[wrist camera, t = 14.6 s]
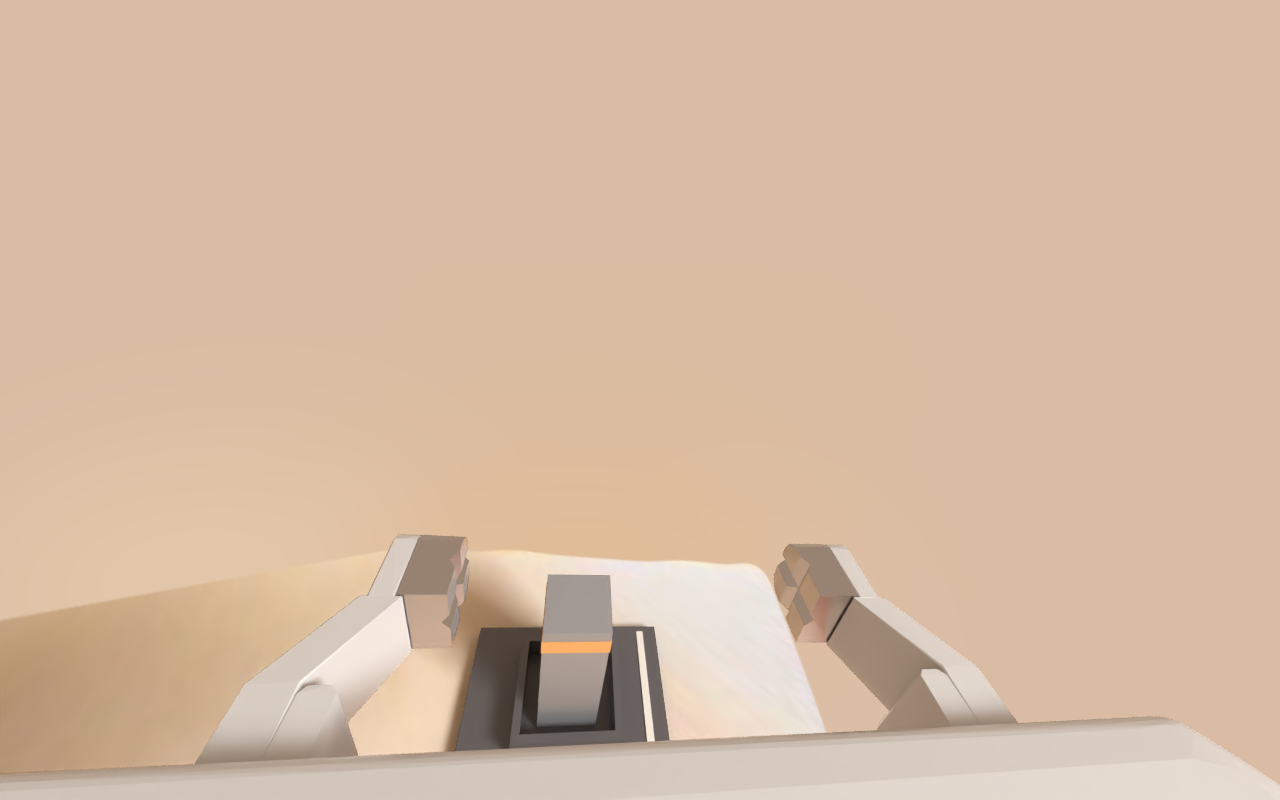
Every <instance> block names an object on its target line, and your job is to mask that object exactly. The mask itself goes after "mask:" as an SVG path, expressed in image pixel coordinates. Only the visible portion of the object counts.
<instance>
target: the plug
mask: <svg viewBox="0 0 1280 800" xmlns="http://www.w3.org/2000/svg"><path fill="white" fill-rule="evenodd" d="M612 635H613V628H612V607H611V587H610V575H548V581H547V587H546V598H545V609H544V620H543V631H542V641H541V669H540V684H539V699H538V715H537V727H558V726H585V725H595V723H596V718H597V713H598V707H599V702H600V697H601V692H602V687H603V681H604V676H605V671H606V666H607V661H608V655H609V653H610V650H611V645H612Z"/></svg>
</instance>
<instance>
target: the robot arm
mask: <svg viewBox="0 0 1280 800" xmlns="http://www.w3.org/2000/svg"><path fill="white" fill-rule="evenodd" d="M467 550H468V542H467V538H466V537H454V536H432V535H405V534H399V535H398V536H397V537H396V538H395V539H394V540H393V542H392V544H391V546H390V548H389V550H388V553H387V555H386V557H385V559H384V561H383V563H382V565H381V567H380V569H379V572H378V574H377V576H376V578H375V580H374V582H373V584H372V586H371V588H370V591H369V593H368V595H367V596H359V597H358V598H356V599H355V600H354V601H352V602H351V603H350V604H348V605H347V606H346V607H345V608H343V609H342V610H341V611H339V612H338V613H337V614H335V615H334V616H333V617H332V618H330V619H329V620H328V621H326V622H325V623H324V624H322V625H321V626H320V627H319V628H317V629H316V630H315V631H313V632H312V633H311V634H309V635H308V636H307V637H306V638H304V639H303V640H302V641H300V642H299V643H298V644H296V645H295V646H294V647H293V648H291V649H290V650H289V651H287V652H286V653H285V654H283V655H282V656H281V657H279V658H278V659H277V660H276V661H274V662H273V663H272V664H270V665H269V666H268V667H266V668H265V669H264V670H263V671H261V672H260V673H259V674H257V675H256V676H255V677H253V678H252V679H251V680H250V681H248V682H247V683H246V684H244V686H243V687H242V689H241V691H240V692H239V694H238V695H237V697H236V699H235V700H234V702H233V703H232V705H231V707H230V708H229V710H228V712H227V713H226V715H225V716H224V718H223V720H222V721H221V723H220V724H219V726H218V728H217V729H216V731H215V732H214V734H213V736H212V737H211V739H210V740H209V742H208V744H207V745H206V747H205V748H204V750H203V752H202V753H201V755H200V756H199V758H198V760H197V761H196V763H195V764H189V765H168V766H148V767H127V768H107V769H86V770H65V771H45V772H24V773H3V774H0V800H1280V785H1279V784H1277V783H1276V782H1274V781H1273V780H1271V779H1270V778H1268V777H1267V776H1265V775H1264V774H1263V773H1261V772H1260V771H1258V770H1257V769H1255V768H1253V767H1252V766H1250V765H1249V764H1247V763H1246V762H1244V761H1243V760H1241V759H1239V758H1238V757H1236V756H1235V755H1233V754H1232V753H1230V752H1228V751H1226V750H1225V749H1224V748H1222V747H1220V746H1219V745H1217V744H1216V743H1214V742H1213V741H1211V740H1209V739H1208V738H1206V737H1205V736H1203V735H1201V734H1199V733H1198V732H1196V731H1194V730H1192V729H1191V728H1189V727H1187V726H1185V725H1183V724H1181V723H1180V722H1178V721H1175V720H1172V719H1169V718H1164V717H1132V718H1112V719H1094V720H1093V719H1092V720H1072V721H1052V722H1032V723H1018V722H1017V721H1016V719H1015V718H1014V717H1013V716H1012V714H1011V713H1010V711H1009V710H1008V709H1007V707H1006V706H1005V704H1004V703H1003V702H1002V700H1001V699H1000V698H999V696H998V695H997V694H996V692H995V691H994V689H993V688H992V687H991V685H990V684H989V683H988V681H987V680H986V678H985V677H984V676H983V674H982V673H981V672H980V670H979V669H978V667H977V666H975V665H974V664H973V663H971V662H970V661H969V660H967V659H966V658H965V657H963V656H962V655H960V654H959V653H958V652H956V651H955V650H954V649H952V648H951V647H950V646H948V645H947V644H946V643H944V642H943V641H941V640H940V639H939V638H937V637H936V636H935V635H933V634H932V633H931V632H929V631H928V630H927V629H925V628H924V627H923V626H921V625H920V624H919V623H917V622H916V621H915V620H913V619H912V618H911V617H909V616H908V615H907V614H905V613H904V612H902V611H901V610H900V609H898V608H897V607H896V606H894V605H893V604H892V603H890V602H889V601H887V600H886V599H885V598H883V597H878V596H877V595H876V593H875V591H874V590H873V589H872V587H871V585H870V584H869V582H868V580H867V579H866V577H865V576H864V574H863V572H862V571H861V569H860V568H859V566H858V565H857V563H856V561H855V560H854V558H853V557H852V555H851V553H850V552H849V551H848V549H847V548H846V547H845V546H843V545H822V544H789V545H788V546H787V547H785V550H784V552H783V556H784V558H785V560H784V561H783V562H781V563H780V564H779V565H778V566H777V568H776V571H775V574H774V587H775V592H776V595H777V598H778V600H779V602H780V603H781V604H782V605H783V606H784V607H785V608H786V609H788V611H787V615H786V620H787V622H788V625H789V627H790V629H791V632H792V634H793V636H794V639H795V641H796V642H825V643H827V645H828V646H829V647H830V648H831V649H832V651H833V652H834V653H835V654H836V655H837V656H838V657H839V658H840V659H841V660H842V661H843V662H844V663H845V664H846V665H847V667H849V669H850V670H851V671H852V672H853V673H854V674H855V675H856V676H857V677H858V678H859V679H860V680H861V681H862V682H863V683H864V684H865V686H867V688H868V689H869V690H870V691H871V692H872V693H873V694H874V695H875V696H876V697H877V698H878V699H879V700H880V701H881V702H882V704H884V706H885V707H886V708H887V709H888V710H889V712H888V713H887V714H886V715H885V717H884V718H883V719H882V720H881V722H880V723H879V725H878V728H877V729H878V730H874V731H854V732H833V733H813V734H792V735H771V736H751V737H730V738H710V739H689V740H669V741H649V742H630V743H610V744H590V745H570V746H550V747H529V748H509V749H489V750H469V751H449V752H429V753H409V754H389V755H369V756H358V753H357V750H356V747H355V744H354V741H353V738H352V735H351V732H350V729H349V726H348V723H347V722H348V721H349V720H350V719H351V718H352V717H353V716H354V715H355V714H356V712H357V711H358V710H359V709H360V708H361V707H362V706H363V705H364V704H365V702H366V701H367V700H368V699H369V698H370V697H371V696H372V695H373V694H374V692H375V691H376V690H377V689H378V688H379V687H380V686H381V685H382V684H383V682H384V681H385V680H386V679H387V678H388V677H389V676H390V675H391V674H392V672H393V671H394V670H395V669H396V668H397V667H398V666H399V665H400V664H401V662H402V661H403V660H404V659H405V658H406V657H407V656H408V655H409V654H410V652H411V651H412V650H411V649H415V648H439V647H452V645H453V642H454V638H455V634H456V630H457V626H458V623H459V606H460V605H461V604H462V603H463V602H464V600H465V595H466V591H467V586H468V579H469V560H468V559H467V558H465V557H466V554H467Z"/></svg>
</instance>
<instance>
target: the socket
mask: <svg viewBox="0 0 1280 800" xmlns="http://www.w3.org/2000/svg"><path fill="white" fill-rule="evenodd" d="M612 628H613V635H612V645H611V650H610V653H609V655H608V661H607V666H606V671H605V676H604V681H603V687H602V692H601V697H600V702H599V707H598V713H597V718H596V723H595V725H585V726H558V727H537V715H538V699H539V684H540V669H541V641H542V631H543V628H481V631H480V636H479V641H478V646H477V650H476V655H475V660H474V665H473V669H472V674H471V679H470V684H469V688H468V693H467V698H466V702H465V707H464V712H463V717H462V721H461V726H460V731H459V736H458V740H457V745H456V750H455V751H469V750H489V749H509V748H529V747H550V746H570V745H590V744H610V743H630V742H649V741H669V733H668V726H667V719H666V711H665V704H664V697H663V690H662V682H661V675H660V668H659V660H658V653H657V646H656V638H655V631H654V627H612Z"/></svg>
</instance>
